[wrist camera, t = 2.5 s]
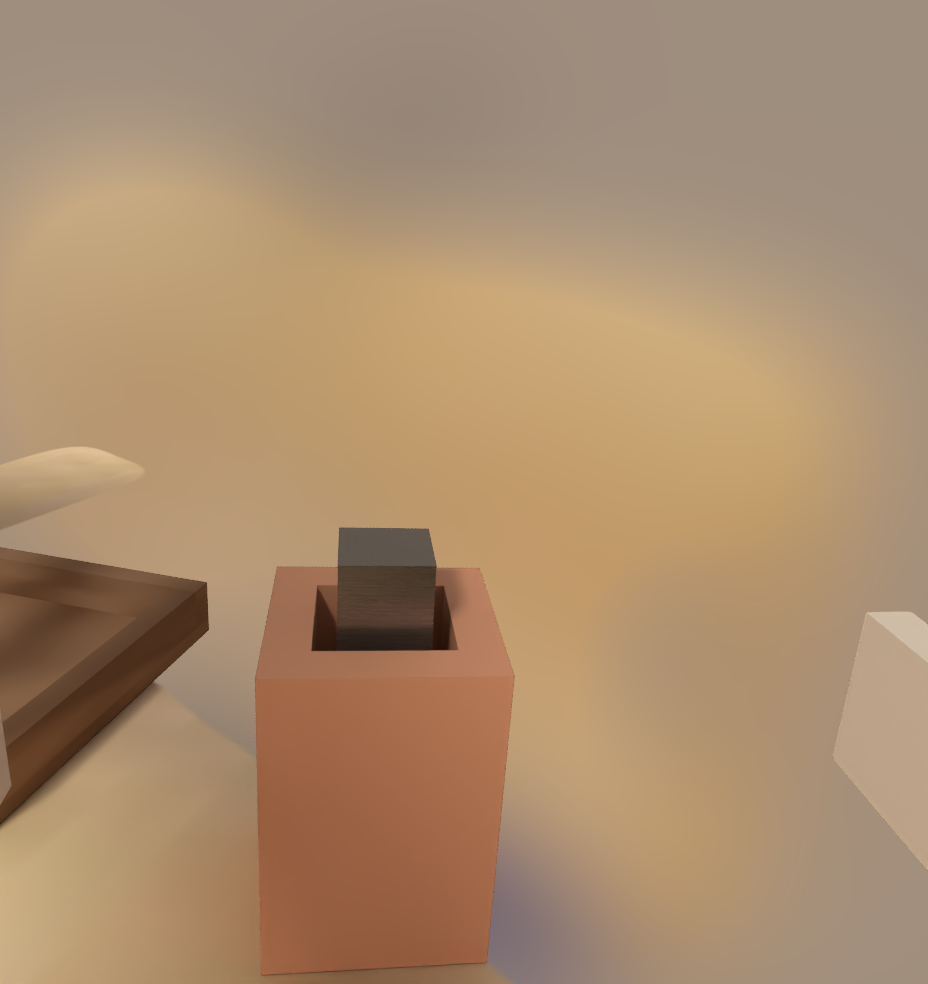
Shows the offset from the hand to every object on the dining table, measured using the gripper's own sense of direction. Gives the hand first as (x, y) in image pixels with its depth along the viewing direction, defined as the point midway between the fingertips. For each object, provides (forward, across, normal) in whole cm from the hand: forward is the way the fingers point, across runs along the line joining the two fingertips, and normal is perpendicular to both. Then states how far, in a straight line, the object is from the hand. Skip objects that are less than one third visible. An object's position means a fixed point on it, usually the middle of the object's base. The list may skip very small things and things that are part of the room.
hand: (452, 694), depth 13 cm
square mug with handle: (+9, -1, -12) cm, 16 cm away
